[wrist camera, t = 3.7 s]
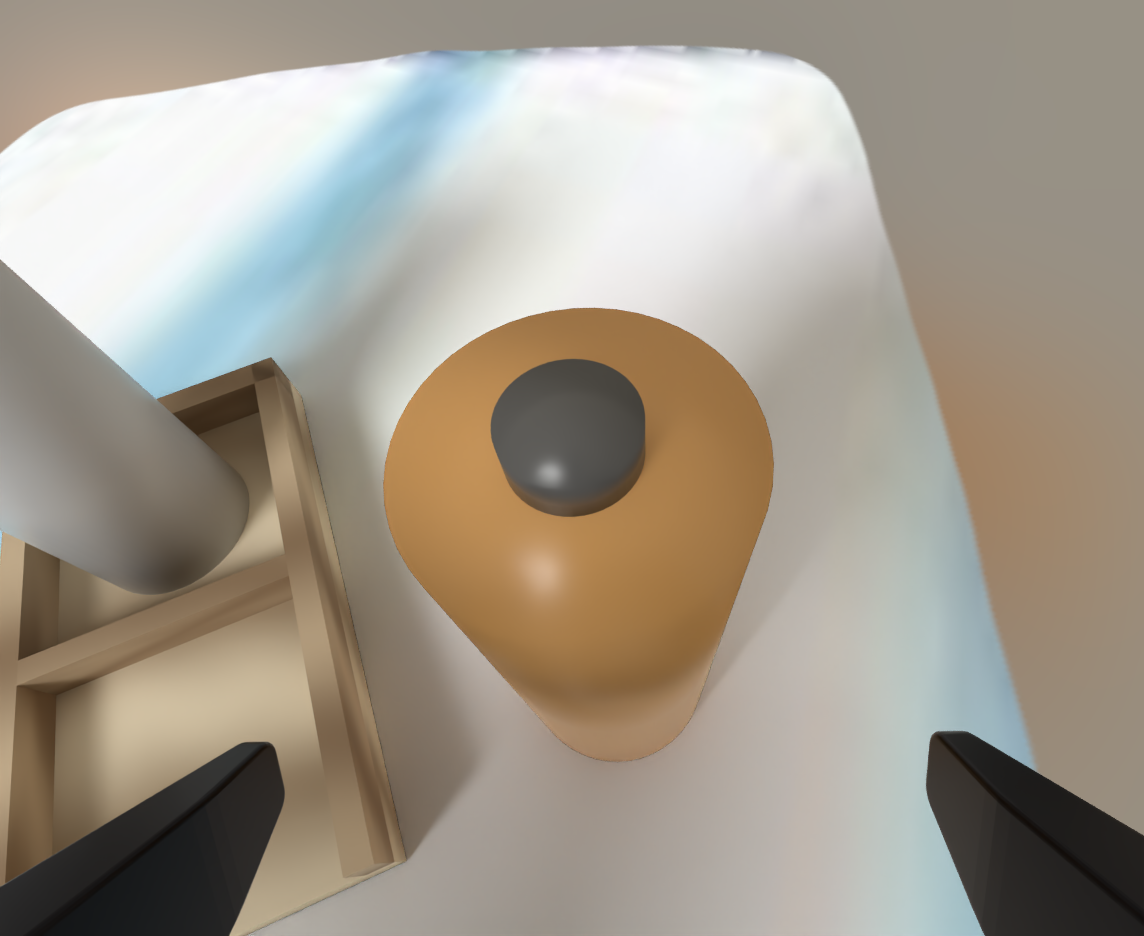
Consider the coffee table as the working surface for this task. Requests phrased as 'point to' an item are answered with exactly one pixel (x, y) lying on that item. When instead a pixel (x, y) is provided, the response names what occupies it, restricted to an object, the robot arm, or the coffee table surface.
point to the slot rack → (202, 673)
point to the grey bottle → (103, 460)
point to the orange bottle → (585, 514)
